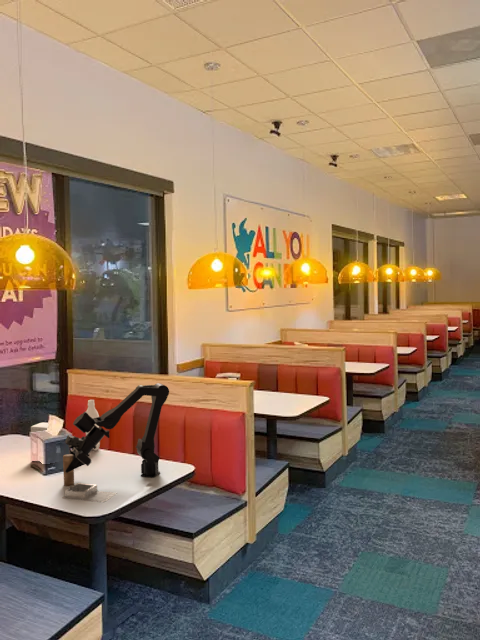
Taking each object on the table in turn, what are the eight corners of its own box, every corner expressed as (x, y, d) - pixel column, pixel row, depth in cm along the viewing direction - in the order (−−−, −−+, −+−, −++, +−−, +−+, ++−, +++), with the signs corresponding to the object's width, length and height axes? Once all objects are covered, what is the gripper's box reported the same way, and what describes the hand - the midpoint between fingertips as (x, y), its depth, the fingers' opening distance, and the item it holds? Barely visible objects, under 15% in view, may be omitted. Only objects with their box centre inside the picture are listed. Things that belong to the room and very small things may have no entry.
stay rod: (76, 484, 229) (75, 454, 228) (70, 488, 225) (69, 457, 225) (67, 484, 230) (66, 453, 230) (62, 487, 226) (60, 456, 226)
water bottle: (102, 448, 284) (101, 399, 283) (94, 452, 278) (93, 402, 276) (90, 447, 287) (89, 398, 286) (82, 451, 280) (80, 401, 279)
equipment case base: (117, 496, 217) (117, 492, 217) (104, 506, 208) (104, 502, 208) (76, 492, 222) (76, 488, 222) (61, 501, 213) (61, 498, 213)
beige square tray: (97, 491, 219) (97, 484, 219) (85, 499, 211) (84, 492, 211) (77, 489, 222) (77, 483, 222) (65, 497, 214) (64, 490, 213)
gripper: (72, 423, 237) (46, 452, 232) (81, 432, 220) (53, 465, 216) (92, 438, 241) (66, 468, 236) (102, 449, 224) (75, 481, 220)
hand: (65, 470), depth 227 cm, fingers closed on stay rod, 4 cm apart
